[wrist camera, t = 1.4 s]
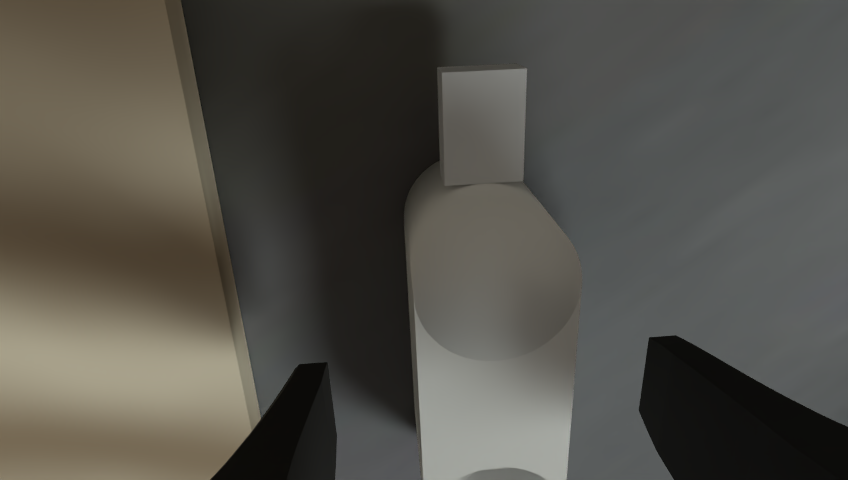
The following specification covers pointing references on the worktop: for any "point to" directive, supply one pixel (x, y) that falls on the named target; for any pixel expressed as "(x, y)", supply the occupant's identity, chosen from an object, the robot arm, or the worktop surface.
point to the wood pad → (112, 252)
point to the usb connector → (488, 294)
